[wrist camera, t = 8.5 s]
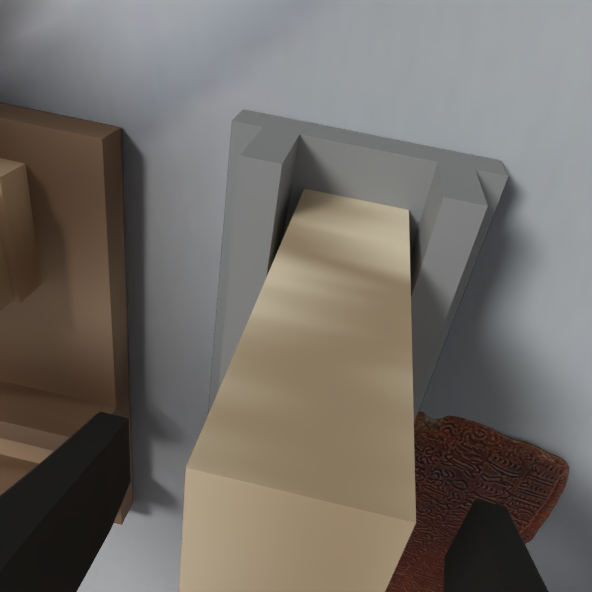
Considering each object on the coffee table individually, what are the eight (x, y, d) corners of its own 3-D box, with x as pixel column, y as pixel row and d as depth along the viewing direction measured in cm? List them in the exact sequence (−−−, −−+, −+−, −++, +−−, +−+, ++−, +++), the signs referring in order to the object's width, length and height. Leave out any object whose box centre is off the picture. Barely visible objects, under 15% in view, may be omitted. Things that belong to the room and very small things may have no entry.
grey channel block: (243, 109, 13) (203, 147, 10) (501, 161, 12) (526, 213, 10) (211, 453, 19) (182, 528, 17) (378, 492, 19) (375, 575, 16)
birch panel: (257, 472, 18) (168, 785, 11) (304, 188, 12) (185, 467, 6) (328, 490, 18) (283, 816, 11) (408, 209, 12) (415, 523, 5)
